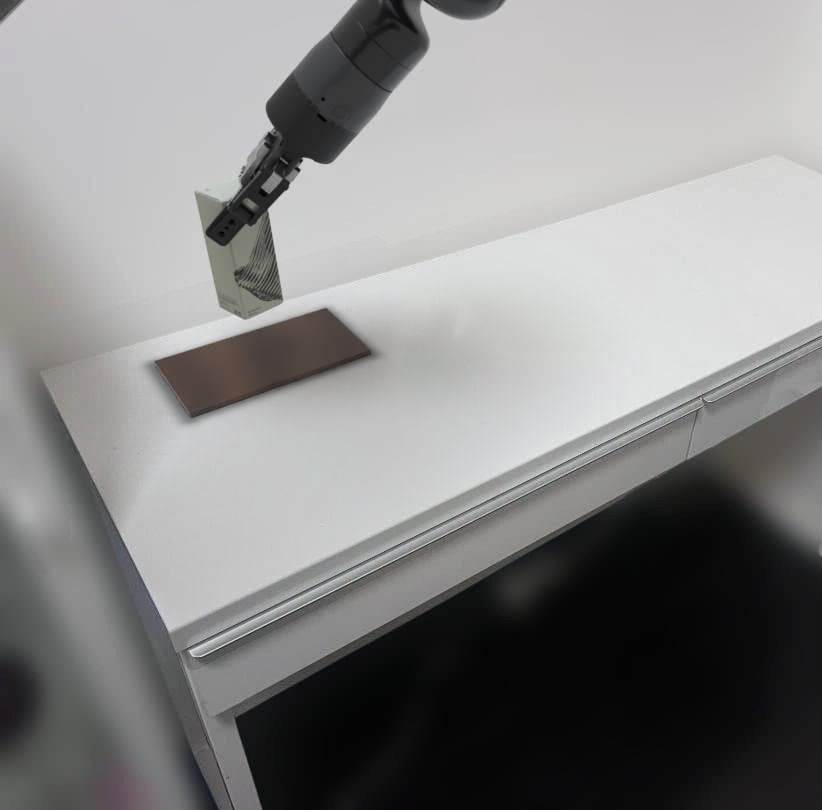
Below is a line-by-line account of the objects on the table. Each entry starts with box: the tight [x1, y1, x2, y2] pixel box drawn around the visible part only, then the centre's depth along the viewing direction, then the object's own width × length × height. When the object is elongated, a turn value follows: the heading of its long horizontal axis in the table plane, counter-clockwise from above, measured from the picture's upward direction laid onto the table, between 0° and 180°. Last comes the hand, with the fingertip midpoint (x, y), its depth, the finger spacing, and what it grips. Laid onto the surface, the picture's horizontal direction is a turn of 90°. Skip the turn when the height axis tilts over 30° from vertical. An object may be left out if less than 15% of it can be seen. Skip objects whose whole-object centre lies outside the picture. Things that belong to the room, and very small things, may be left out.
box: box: [194, 176, 284, 321], centre depth 80 cm, size 5×4×13 cm
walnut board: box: [153, 307, 372, 418], centre depth 88 cm, size 20×11×1 cm, turn 128°
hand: (221, 223), depth 78 cm, fingers closed on box, 6 cm apart
